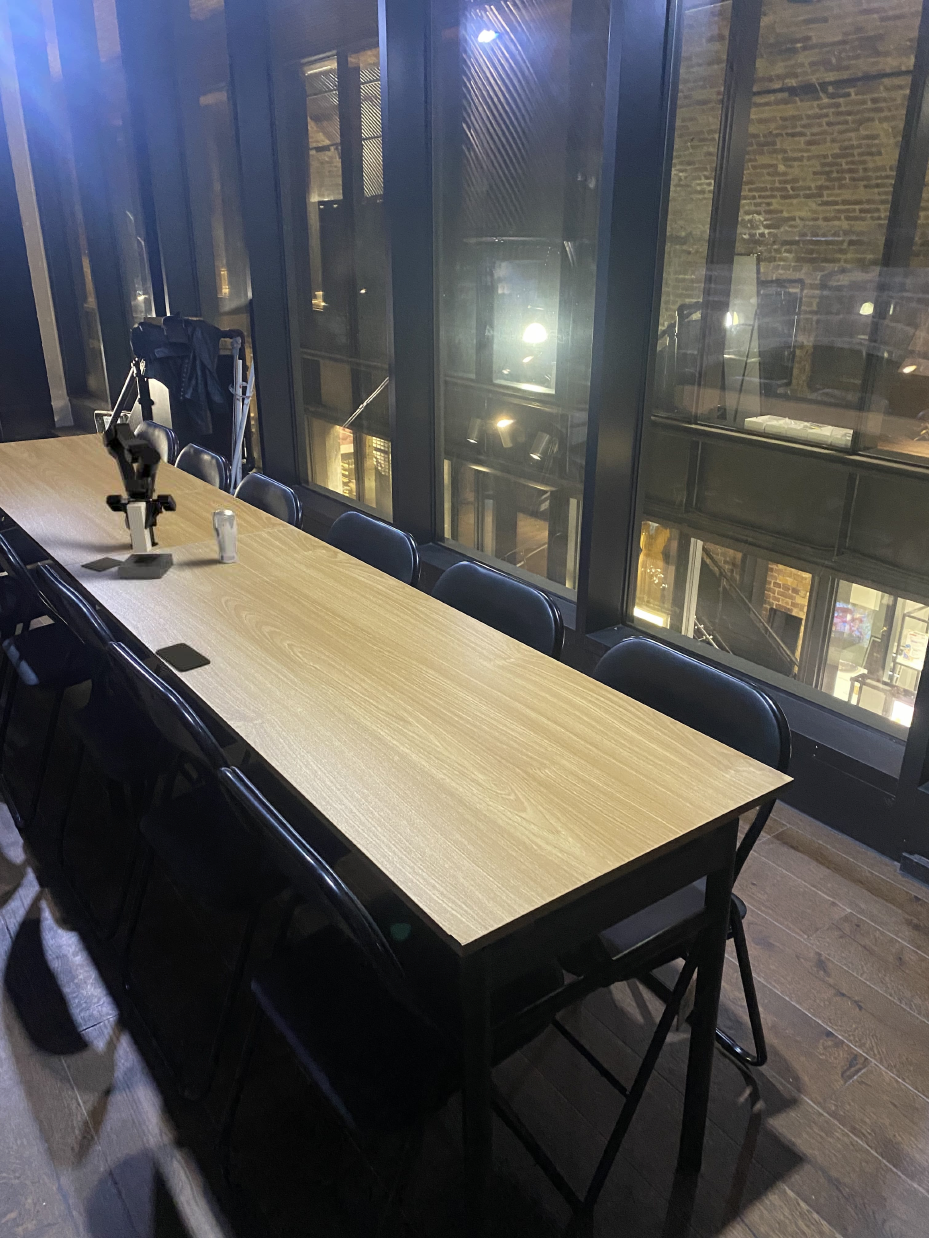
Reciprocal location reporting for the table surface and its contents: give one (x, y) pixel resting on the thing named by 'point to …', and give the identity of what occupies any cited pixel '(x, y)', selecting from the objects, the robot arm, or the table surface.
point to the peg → (139, 527)
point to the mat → (102, 564)
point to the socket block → (145, 566)
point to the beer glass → (225, 535)
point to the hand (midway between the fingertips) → (137, 528)
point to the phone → (183, 657)
